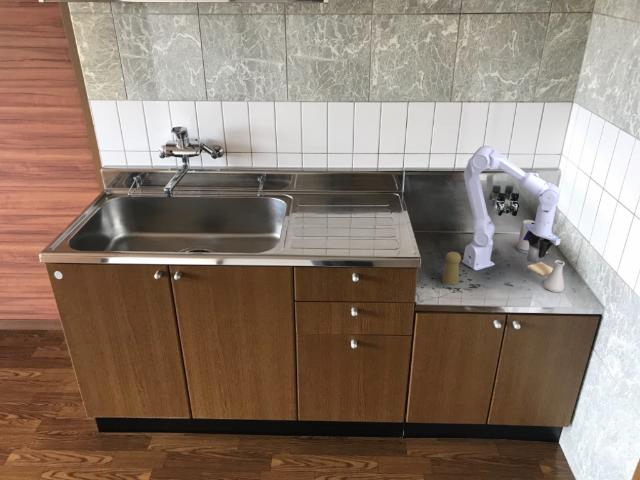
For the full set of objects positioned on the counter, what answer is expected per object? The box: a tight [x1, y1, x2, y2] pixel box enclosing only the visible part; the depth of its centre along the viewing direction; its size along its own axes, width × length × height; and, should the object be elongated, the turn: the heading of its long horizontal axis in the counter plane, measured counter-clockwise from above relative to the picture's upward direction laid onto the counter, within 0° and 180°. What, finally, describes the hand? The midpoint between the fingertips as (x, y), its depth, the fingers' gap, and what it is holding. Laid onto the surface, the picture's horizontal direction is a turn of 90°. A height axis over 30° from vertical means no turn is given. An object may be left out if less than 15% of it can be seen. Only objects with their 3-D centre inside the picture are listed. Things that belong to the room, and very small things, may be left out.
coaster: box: [526, 261, 554, 277], centre depth 190 cm, size 7×7×1 cm
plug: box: [526, 242, 549, 263], centre depth 183 cm, size 8×4×5 cm, turn 116°
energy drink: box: [516, 219, 535, 254], centre depth 201 cm, size 5×5×12 cm
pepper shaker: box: [441, 251, 462, 286], centre depth 181 cm, size 6×6×11 cm
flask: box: [542, 259, 566, 293], centre depth 177 cm, size 7×7×10 cm
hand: (536, 254), depth 183 cm, fingers closed on plug, 3 cm apart
